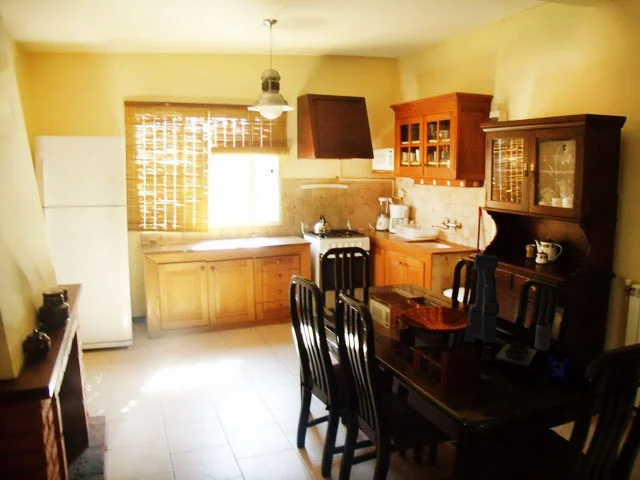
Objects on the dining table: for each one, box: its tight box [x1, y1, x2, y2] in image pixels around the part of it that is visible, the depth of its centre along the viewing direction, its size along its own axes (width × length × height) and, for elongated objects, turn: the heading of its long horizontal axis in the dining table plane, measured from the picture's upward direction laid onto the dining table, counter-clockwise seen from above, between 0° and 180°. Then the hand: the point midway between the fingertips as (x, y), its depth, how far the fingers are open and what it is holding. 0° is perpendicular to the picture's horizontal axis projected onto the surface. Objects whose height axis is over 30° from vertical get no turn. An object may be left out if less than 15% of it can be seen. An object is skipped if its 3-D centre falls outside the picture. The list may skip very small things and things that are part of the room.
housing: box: [495, 342, 538, 367], centre depth 241 cm, size 14×20×3 cm
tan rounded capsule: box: [480, 345, 493, 364], centre depth 234 cm, size 4×4×6 cm
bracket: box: [545, 355, 572, 384], centre depth 223 cm, size 18×8×9 cm, turn 156°
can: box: [534, 321, 552, 352], centre depth 250 cm, size 6×6×12 cm
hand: (486, 357), depth 235 cm, fingers open, 5 cm apart
